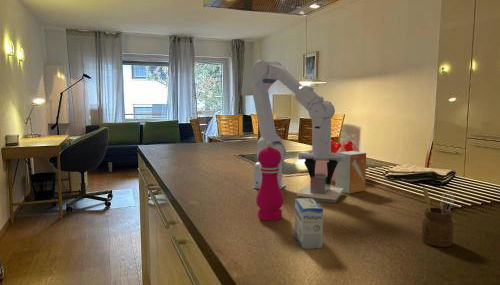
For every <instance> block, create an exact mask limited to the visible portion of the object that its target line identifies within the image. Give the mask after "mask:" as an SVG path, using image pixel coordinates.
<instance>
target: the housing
mask: <svg viewBox="0 0 500 285" xmlns="http://www.w3.org/2000/svg"><path fill="white" fill-rule="evenodd" d="M327 176H328V174H324V173H316V174H314V175H313V176H311V179H310V180H309V181H310V182H309V183H310V184H309V185H310V193H316V194H326V193H327V192H328V191H329V190H330V187H331V184H330V185H328V184H327Z"/></svg>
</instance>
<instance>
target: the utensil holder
mask: <svg viewBox="0 0 500 285" xmlns="http://www.w3.org/2000/svg"><path fill="white" fill-rule="evenodd" d="M422 191H423V197H424V201H425V202H426V204H427V206H426V208H425V210H424V212H423V213H424V217H423V218H422V221H421V240H422V242H423V243H425V244H427V245H429V246H433V247H438V248H447V247H450V246H452V245H453V241H454V240H453V238H454V221H453V220H452V219H453V213H452V211H451V208H452V206H453V203H454V199H453V197H454V194H453V193H451V192H450V191H446V192H443V193H442V197H441V198H440V200H442V201H440V202H439V203H440V207H436V206H435V207H434V206H433V207H432V206H431V207H430V203H431V198H430V195H429V191H428V188H425V187H424V186H422ZM447 193H448V194H447ZM445 194H447V196H445ZM450 195H451V196H450ZM446 197H451V198H446ZM444 198H446V199H444ZM447 199H448V200H447ZM449 200H451V201H450V203H449V202H447V205H448V203H449V204H450V205H449V207H448V206H445V207H443V202H444V201H449ZM444 205H446V202H445V204H444ZM447 207H448V209H447Z"/></svg>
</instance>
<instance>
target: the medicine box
mask: <svg viewBox="0 0 500 285" xmlns="http://www.w3.org/2000/svg"><path fill="white" fill-rule="evenodd" d="M323 229H324V209H323V208H322V207H321V205H320V204H319V203H318V201H315V200H314V199H310V198H301V199H298V198H295V199H294V230H293V231H294V233H293V234H294V236H295V239H296V240H297V242H298V243H299V245H300V247H301V249H302V250H306V249H307V250H312V249H311V248H317V249H323V239H324V238H323V237H324V236H323V233H324V232H323V231H324V230H323Z"/></svg>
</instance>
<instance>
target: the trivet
mask: <svg viewBox="0 0 500 285" xmlns="http://www.w3.org/2000/svg"><path fill="white" fill-rule="evenodd" d="M343 191H344V188H336V186H335V187H333V186H330V190H329V191H328V192H327V193H326V194H316V193H310V184H307V185H306V186H304V187H303V188H301V189H300V190H299V191H297V192H296V196H297V197H298V198H297V199H301V198H310V199H314V200H315V201H316V202H317V203H318V202H320V203H330V204H335V203H336V202H337V201H338V200H339V199H340V197H342V195H343V193H344V192H343Z"/></svg>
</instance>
